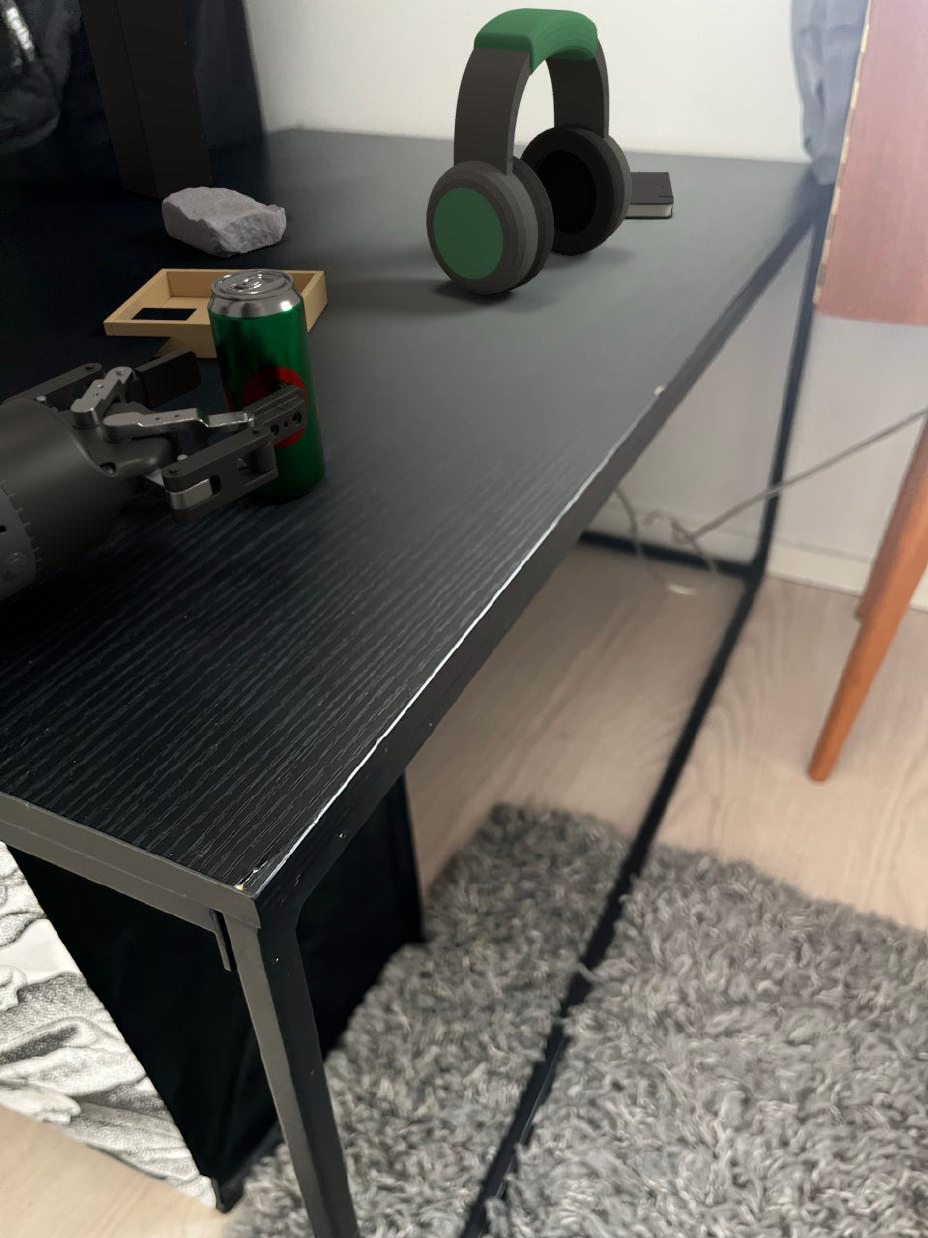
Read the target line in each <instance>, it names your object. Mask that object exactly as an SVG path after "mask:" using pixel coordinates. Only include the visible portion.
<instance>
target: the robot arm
mask: <svg viewBox="0 0 928 1238" xmlns="http://www.w3.org/2000/svg"><path fill="white" fill-rule="evenodd" d="M198 359H199V358H197V355H196V354H195V353H194V352H192V351H189V350H186V349H179V350H177V351H175V352H172V353H170V354H168V355H165V356H163V357H157V358H156V359H153V360H151V361H149V362H147V363H144V364H142V365H140V366H138V367H135V368H133V369H132V368H131V367H130V366H117V367H113V368H112V369H111V370H109V371H108V372H104V368H103V366H102V364H101V363H99V362H89V363H85V364H82V365H80V366H78V367H75V368H74V369H71V370H70V371H67V372H65V373H62V374H60V375H58V376H56V377H53V378H51V379H49V380H46V381H44V382H42V383H40V384H38V385H36V386H33V387H31V388H28V389H26V390H24V391H22V392H19V393H18V394H15V395H13V396H10V397H8V398H6V399H4V400H3V401H2V402H1V404H0V602H1V601H3V600H5V599H7V598H8V597H10V596H12V595H15V594H16V593H18V592H19V591H21V590H22V589H25V588H26V587H28V586H30V585H33V584H35V582H37V581H39V580H42V579H43V578H46V576H49V575H50V574H52V573H54V572H57V571H58V570H59V569H61V568H63V567H64V566H66V565H68V564H70V563H71V562H73V561H76V560H77V559H79V558H81V557H83V556H85V555H87V554H88V553H90V552H92V551H94V550H96V549H97V548H99V547H101V546H102V545H104V544H105V543H106V542H107V541H108V540H109V538H110V537H111V535H112V532H113V529H114V525H115V522H116V520H117V518H118V517H119V516H118V515H119V514H120V512H121V510H122V509H123V508H125V507H128V506H131V505H133V504H136V503H140V502H144V501H149V500H153V499H155V498H157V499H158V500H161V501H162V502H164V503H166V504H168V506H169V511H170V513H171V517H172V522H173V523H176V524H178V525H186V524H187V525H188V524H191V523H194V522H196V521H198V520H199V519H201V518H203V517H206V516H207V515H209V514H211V513H213V512H215V511H217V510H218V509H221V508H222V507H225V506H226V505H228V504H230V503H232V502H234V501H236V500H238V499H240V498H241V497H243V496H245V495H247V494H249V493H252V492H251V491H253V490H255V489H257V488H258V487H260V486H262V485H264V484H266V483H268V482H270V481H272V480H274V479H275V478H277V476H278V470H277V464H276V458H275V453H274V447H273V445H275V444H277V443H279V442H280V441H282V440H284V439H286V438H288V437H289V436H291V435H293V434H295V432H296V433H297V432H299V431H300V430H302V429H304V428H305V427H306V425H307V424H308V419H309V414H308V407H307V400H306V394H305V391H304V390H303V389H302V388H299V387H296V386H293V385H288V386H286V387H284V388H282V389H280V390H278V391H276V392H274V393H272V394H270V395H268V396H266V397H264V398H262V399H260V400H258V401H256V402H254V403H252V404H250V405H248V406H246V407H244V408H242V411H237V412H230V413H228V412H224V413H218V414H211V415H209V414H208V415H207V414H205V413H204V412H203V411H202V409H199V408H197V407H191V408H184V409H178V410H170V411H164V412H161V411H156V410H154V409H156V408H158V407H160V406H162V405H164V404H167V403H169V402H170V401H173V400H175V399H177V398H180V397H182V396H185V395H186V394H188V393H190V392H193V391H195V390H196V389H198V388H199V387H200V386H201V384H202V380H203V378H202V373H201V369H200V364H199V360H198ZM81 387H83V388H84V391H85V393H84V394H83V396H82V397H81V398H76V399H74V395H73V394H74V391H75V390H77V389H78V388H81ZM179 432H185V433H187V434H188V435H189V436H190V437H191V440H192V445H193V449H194V453H193V454H190V455H187V454H183V446H182V442H181V438H180V434H179ZM228 433H231V434H232V433H233V436H232V435H231V436H229V437H227V438H224V439H222V440H221V441H218V442H216V443H214V444H212V445H211V444H210V440H209V439H210V437H212V436H214V435H222V434H228ZM246 466H249V468H247V469H245V470H243V471H241V472H239V468H240V467H246Z"/></svg>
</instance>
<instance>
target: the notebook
mask: <svg viewBox="0 0 928 1238" xmlns="http://www.w3.org/2000/svg"><path fill="white" fill-rule="evenodd" d="M630 172H631V178H632V196H631V202H630V206H629V209H628V212H627V215H626V217H625V218H624V219H670V218H672V217H673V208H674V203H675V200H674V194H673V193H674V192H673V189H672V183H671V177H670V173H669V171H630Z"/></svg>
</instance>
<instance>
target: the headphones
mask: <svg viewBox="0 0 928 1238" xmlns="http://www.w3.org/2000/svg"><path fill="white" fill-rule="evenodd" d="M598 34H599V33H598V29H597V25H596V23H595V22H594V21H593V20H591V19H590V18H589V17H588V16H587V15H585V14H583V13H581V12H578V11H574V10H569V9H568V10H567V9H553V8H551V9H550V8H535V7H534V8H533V7H522V8H514V9H510V10H507V11H504V12H502V13H499V14H498V15H496V16H494V17H493V18H491V19H490V20H489V21H488V22H486V23H485V24H484V25H483V26H482V27H481V28H480V29H479V31H478V32H477V33H476V35H475V37H474V40H473V47H472V48H473V49H472V51H471V53H470V55H469V58H468V59H467V62H466V63H465V67H464V71H463V73H462V77H461V80H460V85H459V89H458V95H457V100H456V101H457V102H456V107H455V117H454V131H453V165H452V167H450V168H448V169H447V170H445V172H444V173H443V174H442V175H441V176H440V177H439V178H438V179H437V180H436V182H435V183H434V186H433V187H432V190H431V192H430V195H429V198H428V202H427V207H426V214H425V215H426V217H425V227H426V235H427V239H428V243H429V247H430V249H431V252H432V254H433V256H434V259H435V260H436V262H437V264H438V266H439V267H440V269H441V270H442V271H443V272H444V273H445V275H446V276H447V277H448V278H449V279H450V280H451V281H452V282H454V283H455V284H457V285H458V286H459V287H461V288H463V289H464V290H465V291H468V292H471V293H474V294H478V295H491V294H499V293H502V292H510V291H513V290H515V289H518V288H520V287H522V286H524V285H526V284H528V283H529V282H530V281H532V280H533V279H535V278H536V277H537V276H538V275H539V273H540V272H541V271H542V270H543V269H544V267H545V265H546V263H547V261H548V259H549V257H550V255H551V253H554V254H557V255H560V256H565V257H575V256H581V255H584V254H586V253H589V252H591V251H593V250H595V249H596V248H597V249H598V247H600V246H601V245H603V244H604V243H605V242H607V240H608V239H609V238H610V237H611V236H612V235H614V233H615V232H616V231H617V230H618V228H620V226H621V225H622V223H624V221H625V219H626V218H625V217H626V215H627V212H628V209H629V206H630V202H631V196H632V178H631V172H632V171H631V168H630V165H629V162H628V158H627V157H626V155H625V153H624V150H623V149H622V147H621V146H620V144H618V142H617V141H616V140H615V139H614V137H613V136H611V135H610V83H609V74H608V73H609V71H608V67H607V66H608V65H607V61H606V55H605V53H604V50H603V46H602V44H601V42H600V39H599V37H598ZM544 61H545V63H546V66H547V67H546V68H547V70H548V74H549V79H550V84H551V93H552V105H553V107H552V109H553V126H552V127H550V128H547V129H545V130H543V131H541V132H540V133H538V134H537V135H536V136H535V137H533V139H531V140H530V141H529V142H528V143H527V145H526V147H525V148H524V150H523V151H522V153H521V156H520V157H517V156H515V155H514V149H515V139H516V128H517V122H518V117H519V110H520V106H521V102H522V99H523V95H524V92H525V89H526V86H527V84H528V81H529V78H530V77H531V76H532V75H533V74H534V72H535V71H536V70H537V69H538V68H539V66H540V65H541V64H543V63H544Z"/></svg>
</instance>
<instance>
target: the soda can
mask: <svg viewBox="0 0 928 1238" xmlns="http://www.w3.org/2000/svg"><path fill="white" fill-rule="evenodd" d="M241 270H242V271H237V272H233V273H229V274H226V275H224V276H221V277H219V278H217V279H216V280H214V281H213V282H212V284H211V287H210V289H211V292H212V295H211V298H210V300H209V303H208V305H207V310H208V315H209V320H210V325H211V330H212V335H213V341H214V346H215V351H216V356H217V358H216V359H217V365H218V370H219V377H220V381H221V387H222V391H223V396H224V401H225V405H226V410H227V412H226V413H230V412H237V411H242V408H244V407H246V406H248V405H250V404H252V403H254V402H256V401H258V400H260V399H262V398H264V397H266V396H268V395H270V394H272V393H274V392H276V391H278V390H280V389H282V388H284V387H286V386H288V385H293V386H296V387H299V388H302V389H303V390H304V391H305V394H306V400H307V407H308V414H309V419H308V424H307V425H306V427H305V428H304V429H302V430H300V431H299V432H297V433H296V432H295V434H293V435H291V436H289V437H288V438H286V439H284V440H282V441H280V442H279V443H277V444H275V445H273V447H274V453H275V458H276V464H277V470H278V476H277V478H275V479H274V480H272V481H270V482H268V483H266V484H264V485H262V486H260V487H258V488H257V489H255V490H253V491H251V492H250V493H253V494H254V495H255V496H257V497H259V498H262V499H267V500H278V501H279V500H290V499H295V498H298V497H301V496H304V495H307V494H308V493H310V492H312V491H313V490H315V489H316V488H317V487H318V485H319V484H320V483H321V482H322V480H323V479H324V477H325V475H326V472H327V468H326V459H325V453H324V452H325V451H324V444H323V437H322V430H321V421H320V413H319V407H318V406H319V405H318V399H317V391H316V383H315V375H314V368H313V360H312V351H311V345H310V339H309V338H310V337H309V332H308V329H307V322H306V314H305V306H304V299H303V296H302V295H301V294H300V292H299V291H298V290H297V289H296V287H295V286H294V279H293V277H292V276H291V275H290V274H288V273H286V272H283V271H279V269H271V268H252V269H251V268H249V269H241ZM231 436H233V433H232V432H231ZM247 468H249V466H246V467H240V468H238V472H241V471H243V470H245V469H247Z"/></svg>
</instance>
